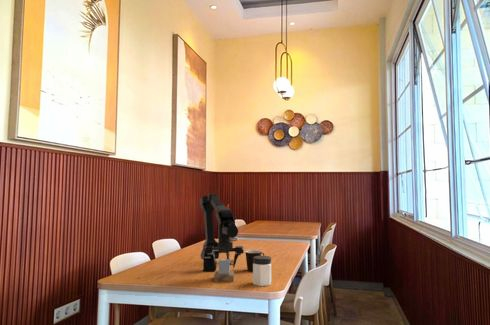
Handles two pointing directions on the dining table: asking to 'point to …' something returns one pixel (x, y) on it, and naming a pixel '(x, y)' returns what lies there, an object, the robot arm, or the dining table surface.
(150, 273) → the dining table surface
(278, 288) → the dining table surface
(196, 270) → the dining table surface
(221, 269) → the block
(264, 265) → the jar
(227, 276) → the base
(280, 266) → the dining table surface
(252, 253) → the coffee mug
